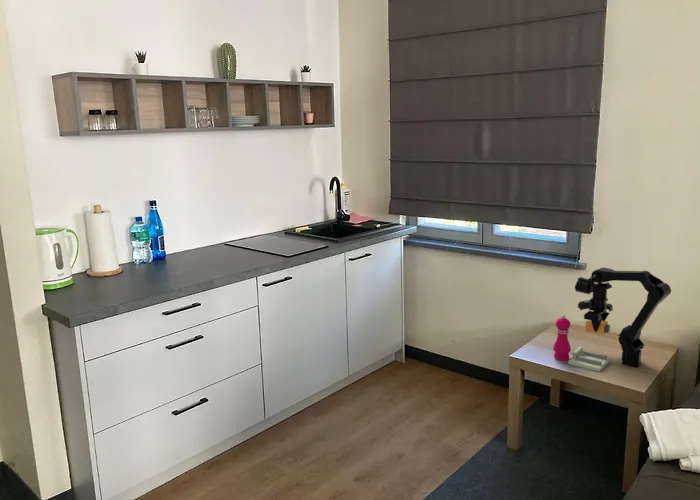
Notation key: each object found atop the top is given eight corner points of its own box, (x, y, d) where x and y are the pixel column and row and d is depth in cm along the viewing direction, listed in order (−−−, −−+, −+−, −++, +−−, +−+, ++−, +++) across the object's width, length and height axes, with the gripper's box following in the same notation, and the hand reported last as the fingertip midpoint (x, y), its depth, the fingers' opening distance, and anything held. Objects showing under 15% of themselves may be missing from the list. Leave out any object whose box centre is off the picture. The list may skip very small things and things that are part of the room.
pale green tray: (608, 361, 252) (609, 352, 251) (599, 371, 243) (600, 361, 242) (578, 354, 260) (579, 345, 259) (568, 363, 252) (568, 354, 251)
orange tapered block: (610, 332, 258) (610, 322, 257) (606, 335, 255) (607, 325, 254) (589, 328, 264) (589, 317, 263) (585, 331, 261) (585, 320, 260)
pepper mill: (557, 353, 263) (559, 311, 259) (573, 357, 258) (575, 314, 253) (549, 358, 258) (551, 315, 254) (565, 362, 253) (567, 319, 249)
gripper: (588, 288, 268) (587, 320, 271) (572, 298, 254) (571, 332, 258) (614, 292, 260) (612, 325, 264) (598, 303, 247) (596, 337, 251)
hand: (597, 329), depth 259 cm, fingers closed on orange tapered block, 4 cm apart
